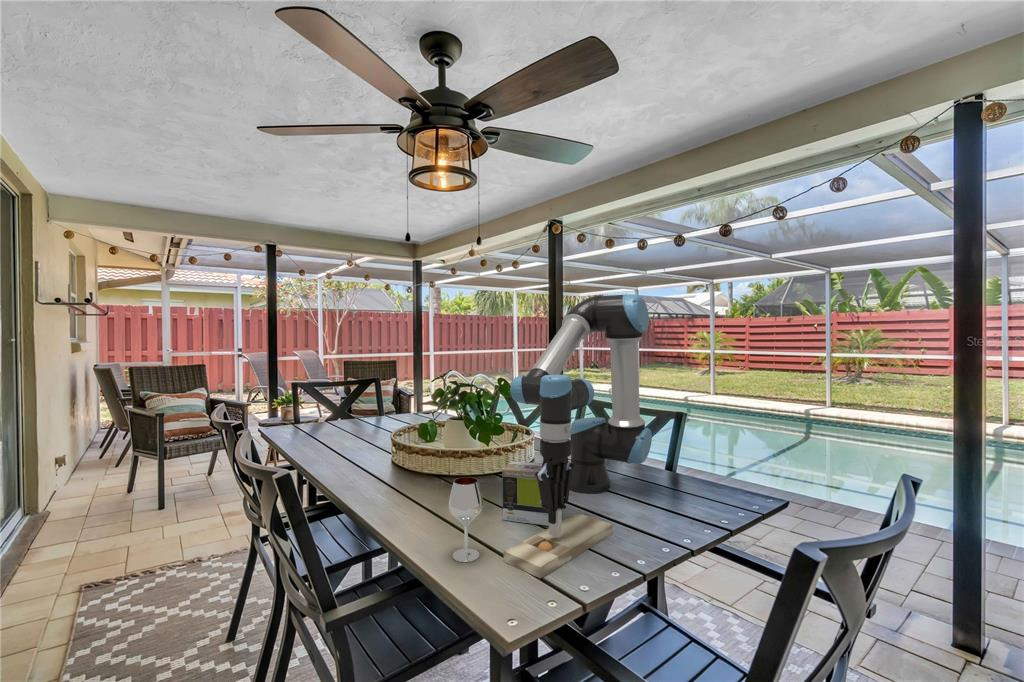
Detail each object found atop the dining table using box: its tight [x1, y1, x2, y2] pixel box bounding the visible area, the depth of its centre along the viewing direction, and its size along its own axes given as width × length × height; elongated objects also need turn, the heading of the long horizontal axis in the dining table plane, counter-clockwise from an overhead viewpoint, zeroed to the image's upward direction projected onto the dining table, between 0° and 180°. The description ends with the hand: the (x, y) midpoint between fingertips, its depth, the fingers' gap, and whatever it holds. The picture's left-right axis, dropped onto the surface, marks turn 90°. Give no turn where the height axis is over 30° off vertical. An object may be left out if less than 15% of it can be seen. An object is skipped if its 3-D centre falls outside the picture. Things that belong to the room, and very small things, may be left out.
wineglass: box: [448, 476, 484, 563], centre depth 112 cm, size 8×8×18 cm
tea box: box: [501, 460, 549, 527], centre depth 135 cm, size 15×10×15 cm, turn 71°
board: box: [503, 513, 613, 579], centre depth 117 cm, size 11×30×2 cm, turn 137°
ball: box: [538, 541, 553, 552], centre depth 112 cm, size 4×4×4 cm
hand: (555, 535), depth 115 cm, fingers closed
